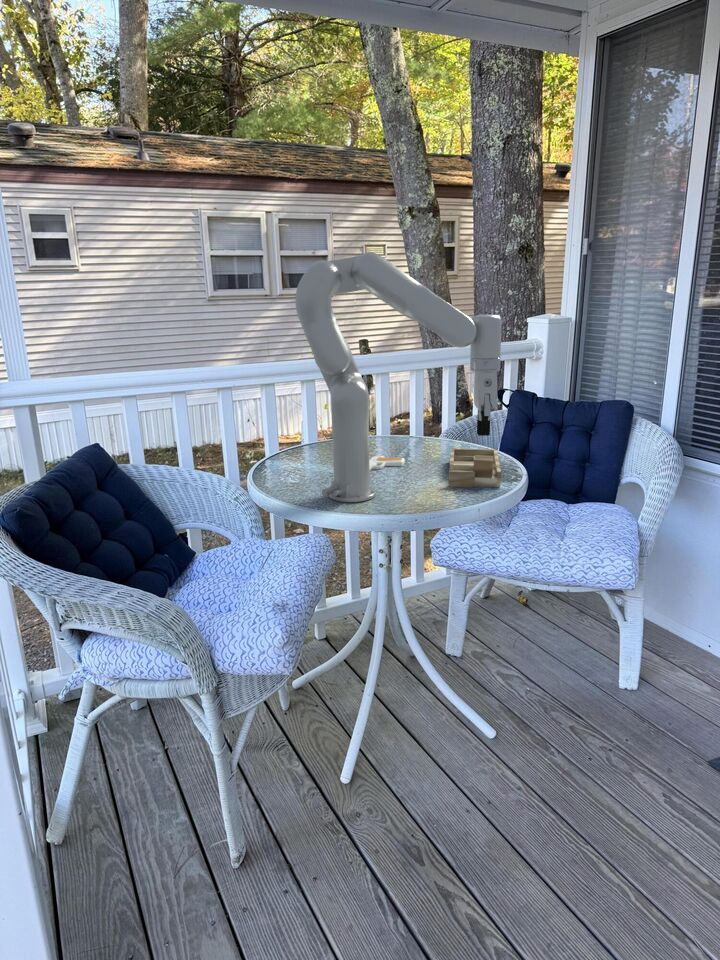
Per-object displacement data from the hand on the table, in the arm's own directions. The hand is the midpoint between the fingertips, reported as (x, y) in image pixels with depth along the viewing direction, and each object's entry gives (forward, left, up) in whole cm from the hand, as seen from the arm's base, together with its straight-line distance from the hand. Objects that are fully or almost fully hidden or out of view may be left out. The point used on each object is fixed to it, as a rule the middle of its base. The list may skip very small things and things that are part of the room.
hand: (483, 434), depth 168 cm
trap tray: (+12, +10, -15) cm, 22 cm away
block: (+6, +3, -13) cm, 14 cm away
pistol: (0, +35, -16) cm, 39 cm away
